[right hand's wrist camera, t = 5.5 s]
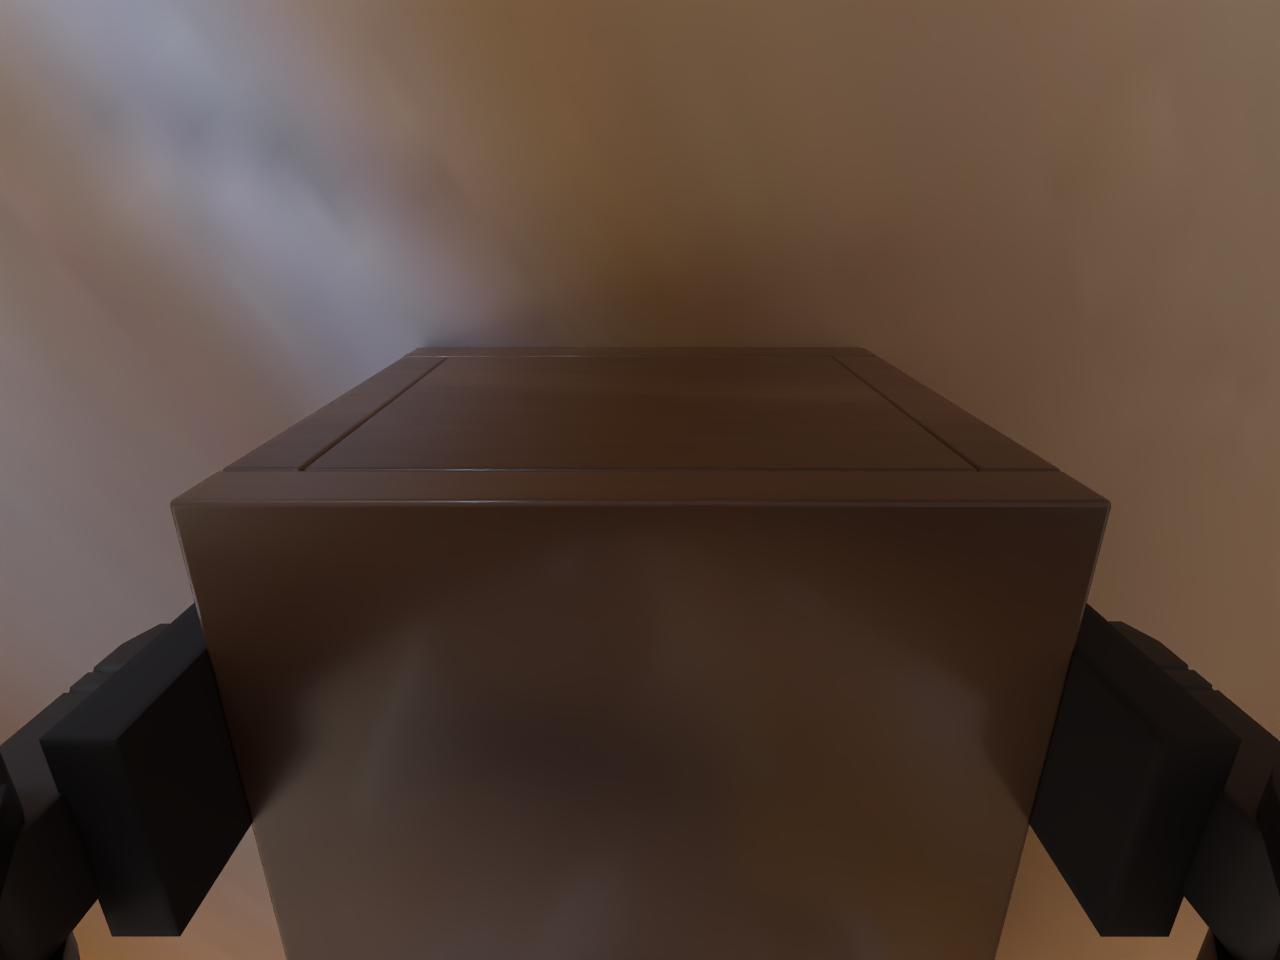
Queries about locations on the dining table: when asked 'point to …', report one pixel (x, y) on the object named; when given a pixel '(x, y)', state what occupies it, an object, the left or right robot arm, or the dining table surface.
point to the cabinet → (640, 657)
